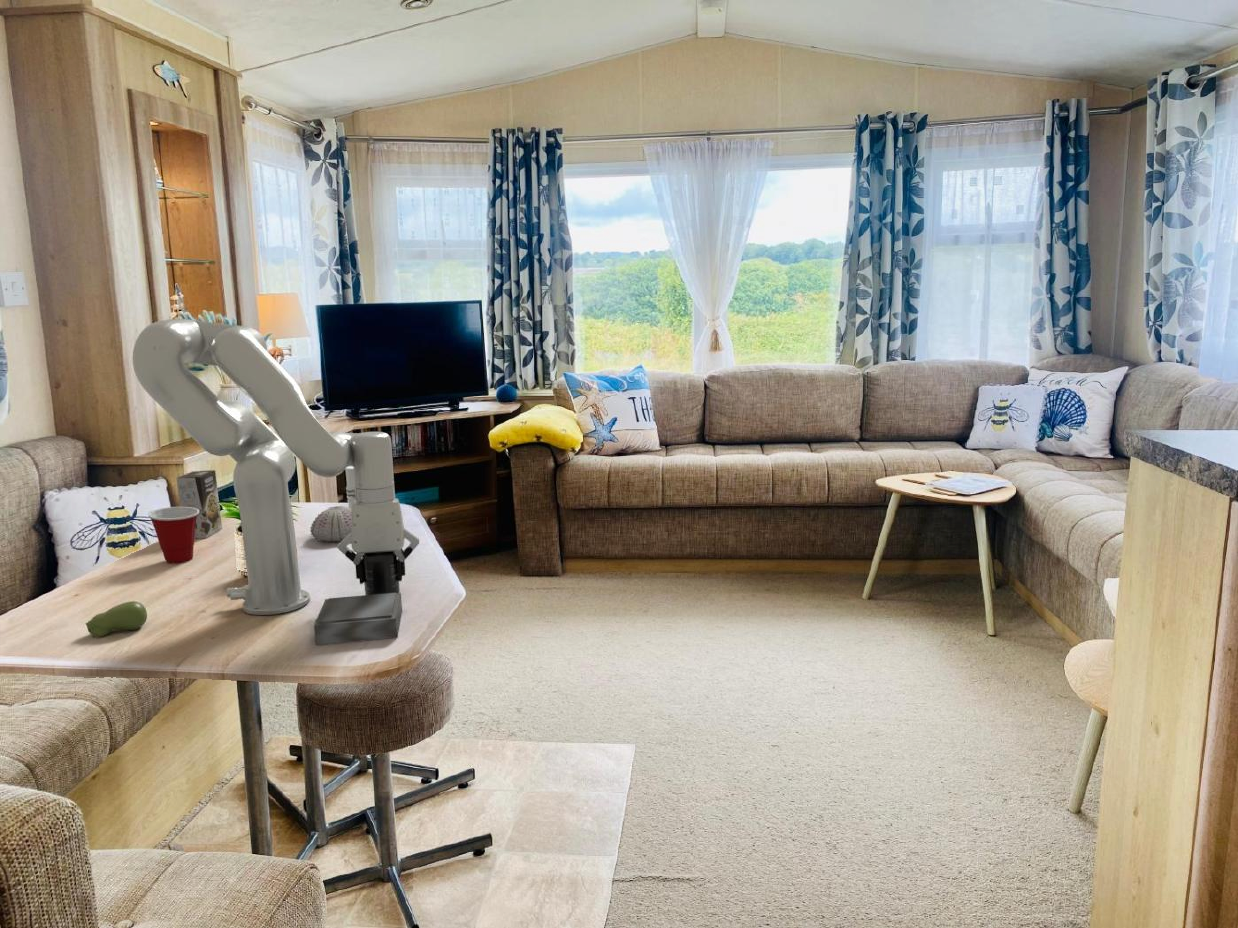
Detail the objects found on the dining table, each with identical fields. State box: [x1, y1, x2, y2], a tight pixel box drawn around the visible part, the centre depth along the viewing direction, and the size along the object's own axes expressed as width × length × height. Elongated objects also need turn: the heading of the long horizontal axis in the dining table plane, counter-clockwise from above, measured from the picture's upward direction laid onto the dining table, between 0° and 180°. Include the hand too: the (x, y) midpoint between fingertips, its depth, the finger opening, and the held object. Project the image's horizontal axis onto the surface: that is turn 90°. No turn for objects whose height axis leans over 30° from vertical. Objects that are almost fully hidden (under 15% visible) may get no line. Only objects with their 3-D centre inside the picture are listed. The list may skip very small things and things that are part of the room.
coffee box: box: [176, 469, 223, 539], centre depth 236 cm, size 9×6×16 cm
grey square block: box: [313, 592, 403, 646], centre depth 167 cm, size 14×14×4 cm
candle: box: [344, 466, 356, 509], centre depth 244 cm, size 7×7×15 cm
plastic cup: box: [148, 506, 199, 565], centre depth 213 cm, size 11×11×12 cm
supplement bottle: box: [362, 551, 401, 595], centre depth 183 cm, size 7×7×12 cm
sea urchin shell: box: [309, 505, 351, 543], centre depth 229 cm, size 13×14×8 cm
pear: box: [85, 600, 148, 639], centre depth 169 cm, size 6×5×10 cm
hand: (381, 579), depth 184 cm, fingers closed on supplement bottle, 6 cm apart
